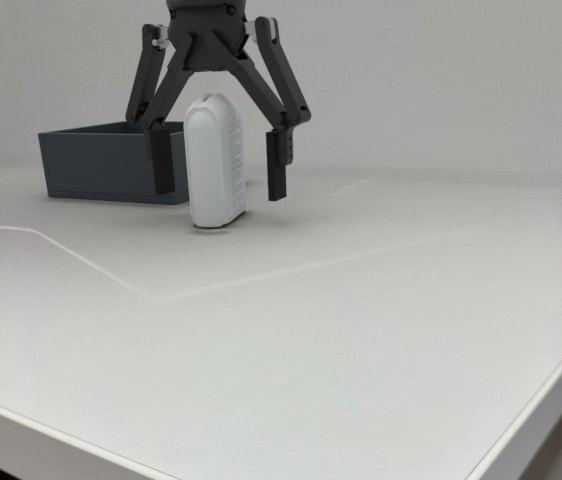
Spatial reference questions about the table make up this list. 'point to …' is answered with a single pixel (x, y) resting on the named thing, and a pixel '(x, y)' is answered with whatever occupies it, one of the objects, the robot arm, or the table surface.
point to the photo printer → (215, 160)
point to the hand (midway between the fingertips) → (219, 196)
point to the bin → (110, 163)
